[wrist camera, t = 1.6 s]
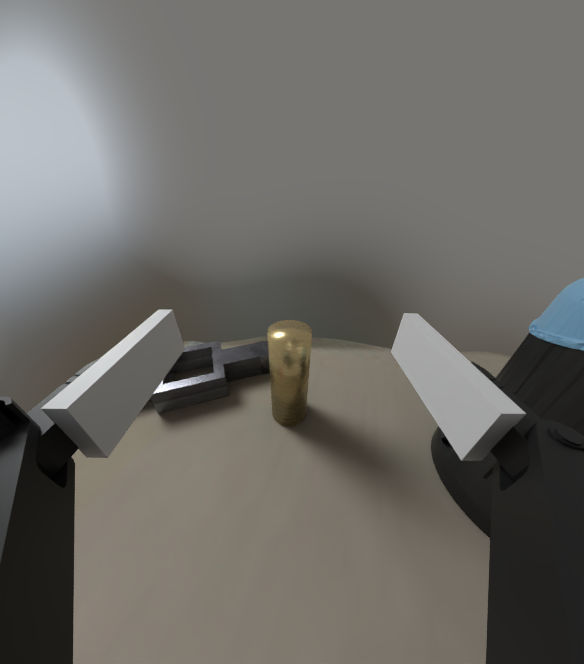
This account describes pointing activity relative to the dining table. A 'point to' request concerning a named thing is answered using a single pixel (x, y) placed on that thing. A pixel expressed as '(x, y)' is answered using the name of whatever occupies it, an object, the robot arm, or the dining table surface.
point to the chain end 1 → (193, 398)
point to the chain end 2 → (215, 369)
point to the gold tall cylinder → (289, 370)
